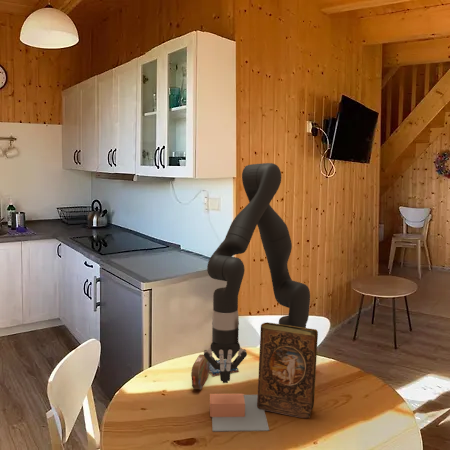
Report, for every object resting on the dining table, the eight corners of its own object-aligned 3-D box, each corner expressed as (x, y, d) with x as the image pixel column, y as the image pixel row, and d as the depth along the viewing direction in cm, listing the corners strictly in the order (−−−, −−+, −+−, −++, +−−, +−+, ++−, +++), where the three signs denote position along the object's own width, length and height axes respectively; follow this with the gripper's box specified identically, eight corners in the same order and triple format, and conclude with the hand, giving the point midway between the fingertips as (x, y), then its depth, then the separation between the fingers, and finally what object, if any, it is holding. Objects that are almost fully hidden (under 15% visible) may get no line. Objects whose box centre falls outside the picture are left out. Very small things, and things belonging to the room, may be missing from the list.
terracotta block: (209, 406, 145) (243, 406, 145) (210, 417, 139) (244, 416, 139) (209, 393, 144) (243, 393, 144) (210, 403, 138) (245, 403, 139)
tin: (199, 394, 153) (199, 369, 152) (189, 393, 153) (189, 368, 152) (210, 373, 167) (210, 350, 166) (201, 373, 168) (201, 349, 167)
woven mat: (227, 362, 178) (227, 356, 178) (239, 373, 169) (240, 368, 168) (201, 366, 174) (201, 361, 174) (212, 378, 165) (212, 373, 164)
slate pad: (260, 395, 152) (260, 394, 152) (269, 430, 132) (269, 429, 132) (211, 396, 152) (211, 395, 152) (212, 431, 132) (212, 430, 132)
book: (255, 408, 144) (258, 327, 140) (259, 400, 149) (263, 321, 145) (310, 419, 138) (315, 336, 135) (313, 410, 144) (318, 329, 140)
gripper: (247, 320, 142) (246, 375, 145) (202, 320, 141) (202, 376, 144) (249, 329, 135) (249, 387, 137) (202, 329, 134) (202, 388, 136)
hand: (225, 381), depth 141 cm, fingers closed
